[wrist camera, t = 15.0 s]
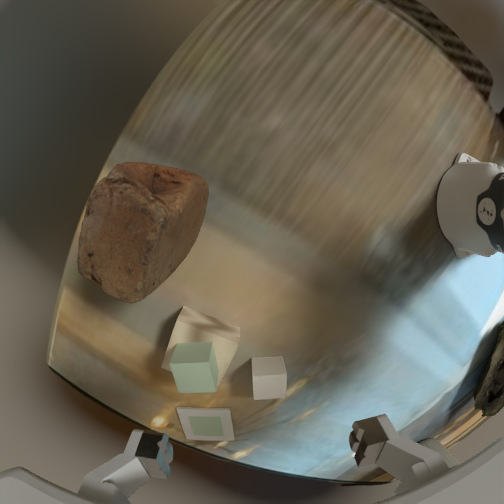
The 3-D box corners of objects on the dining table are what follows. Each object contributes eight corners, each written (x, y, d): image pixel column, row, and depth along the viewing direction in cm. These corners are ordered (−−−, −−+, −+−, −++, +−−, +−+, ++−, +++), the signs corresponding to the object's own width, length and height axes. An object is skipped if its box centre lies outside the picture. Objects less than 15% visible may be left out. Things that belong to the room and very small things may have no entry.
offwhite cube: (282, 355, 41) (287, 373, 37) (282, 378, 43) (286, 397, 38) (251, 357, 41) (252, 376, 36) (252, 380, 42) (253, 400, 38)
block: (191, 256, 37) (141, 322, 18) (143, 237, 37) (60, 281, 17) (219, 182, 35) (191, 173, 16) (169, 164, 35) (95, 140, 15)
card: (229, 407, 44) (229, 410, 43) (234, 438, 46) (234, 441, 45) (176, 406, 44) (176, 409, 43) (187, 437, 46) (186, 440, 45)
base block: (240, 326, 40) (239, 343, 35) (219, 369, 42) (217, 388, 37) (184, 304, 39) (176, 319, 34) (168, 350, 41) (160, 367, 36)
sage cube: (212, 341, 35) (208, 362, 30) (218, 369, 36) (216, 392, 31) (177, 343, 35) (169, 363, 30) (185, 371, 36) (179, 393, 31)
